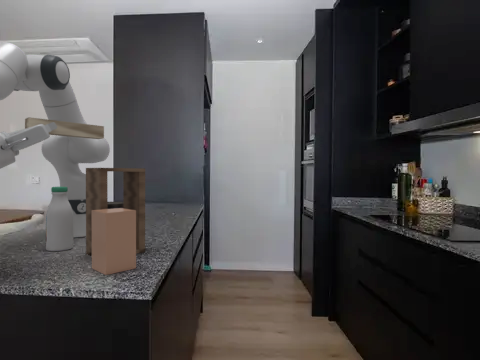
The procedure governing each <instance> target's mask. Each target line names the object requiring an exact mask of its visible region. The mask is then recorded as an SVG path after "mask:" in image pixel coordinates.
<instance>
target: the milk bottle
mask: <svg viewBox="0 0 480 360" xmlns="http://www.w3.org/2000/svg"><path fill="white" fill-rule="evenodd" d="M50 190H51V195H52V196H51V199H50V203H49V204H48V206H47V209H46V212H45V213H46V214H45V249H46V251H49V252H60V251H68V250H71V249H73V248H74V237H73V211H72V207H71V205H70V203H69V201H68V198H67V191H68V188H67V187H60V186H52V187H51V188H50Z"/></svg>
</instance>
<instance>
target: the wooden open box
mask: <svg viewBox="0 0 480 360" xmlns="http://www.w3.org/2000/svg"><path fill="white" fill-rule="evenodd" d="M108 172H123V173H122V174H123V175H122V176H123V180H122V181H123V184H122V186H123V188H122V189H123V193H122V195H123V198H122V200H123V201H122V202H123V208H124V209H130V210H136V255H138V254H141V253H142V254H143V253H146V168H141V167H140V168H136V167H133V168H131V167H85V174H86V236H85V255H87V256H89V257H91V258H92V210H102V209H108V202H109V200H108V198H109V197H108Z"/></svg>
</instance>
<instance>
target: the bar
mask: <svg viewBox="0 0 480 360" xmlns="http://www.w3.org/2000/svg"><path fill="white" fill-rule="evenodd" d="M52 122H54V123H55V124H56V125H57V129H55V130H52V131H50V132H49V135H50V136H69V137H80V138H91V139H103V138H105V126H104V125H96V124H88V123H87V124H81V123H73V122H64V121H56V120H48V118H47V119H46V118H39V117H38V118H37V117H26V118H25V119H24V129H26V128H29V127H32V126H35V125H39V124H43V125H47V124H49V123H52Z"/></svg>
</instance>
